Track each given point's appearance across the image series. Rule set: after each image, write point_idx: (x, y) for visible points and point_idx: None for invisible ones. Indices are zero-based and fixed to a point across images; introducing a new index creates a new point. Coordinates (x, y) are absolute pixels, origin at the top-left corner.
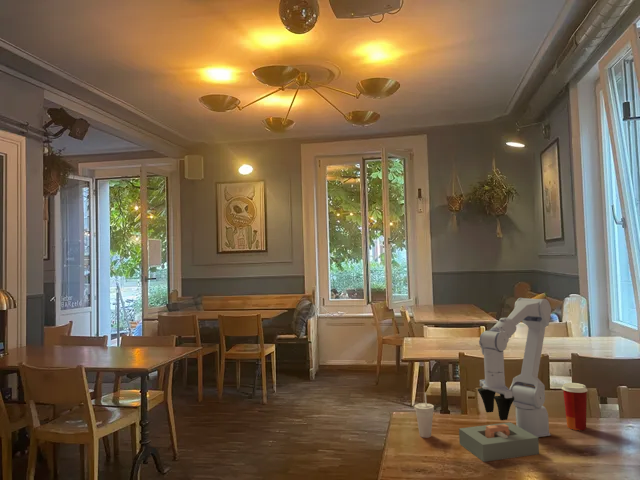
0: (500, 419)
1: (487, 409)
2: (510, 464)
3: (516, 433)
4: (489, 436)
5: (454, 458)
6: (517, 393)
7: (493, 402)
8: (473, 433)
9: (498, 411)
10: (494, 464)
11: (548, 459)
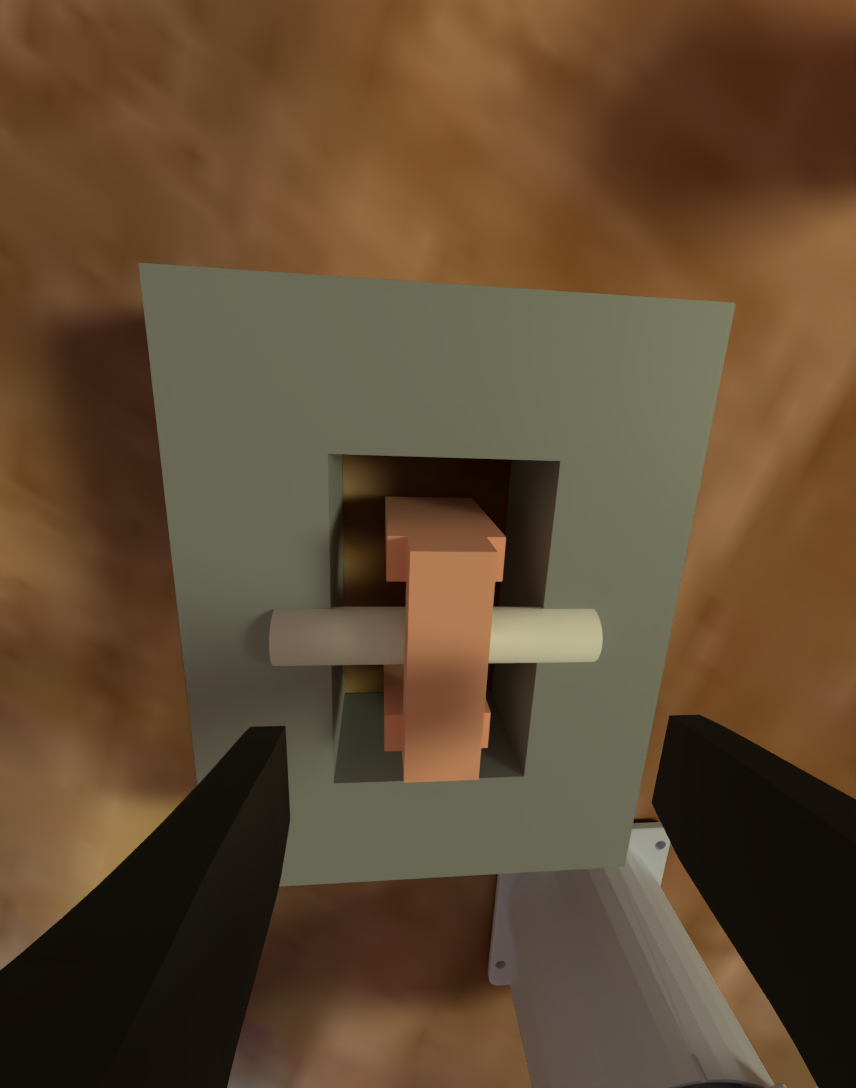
0: (265, 730)
1: (700, 756)
2: (113, 496)
3: (360, 783)
4: (413, 523)
5: (362, 61)
6: None
7: (761, 976)
8: (522, 381)
9: (231, 824)
10: (138, 368)
11: (147, 785)
